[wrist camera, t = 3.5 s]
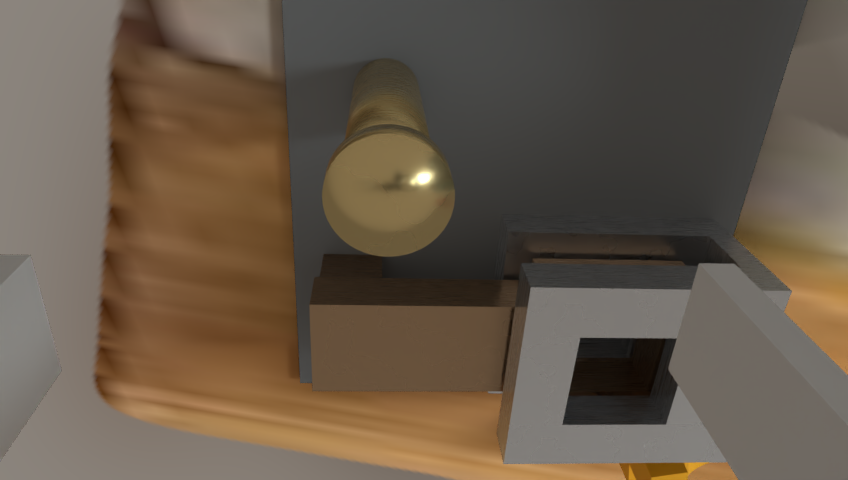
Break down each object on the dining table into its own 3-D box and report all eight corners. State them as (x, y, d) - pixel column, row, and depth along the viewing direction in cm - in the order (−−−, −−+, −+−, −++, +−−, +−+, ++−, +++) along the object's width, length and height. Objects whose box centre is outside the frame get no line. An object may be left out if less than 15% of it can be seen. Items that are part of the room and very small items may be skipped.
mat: (282, -34, 26) (280, -33, 26) (802, -7, 28) (809, -6, 28) (301, 377, 37) (300, 382, 36) (682, 378, 38) (686, 383, 38)
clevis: (317, 209, 31) (301, 284, 25) (714, 218, 33) (791, 291, 27) (321, 369, 36) (309, 465, 30) (669, 370, 37) (726, 462, 31)
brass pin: (344, 47, 28) (320, 132, 17) (430, 50, 28) (460, 137, 17) (344, 130, 29) (323, 255, 19) (425, 133, 30) (450, 258, 19)
